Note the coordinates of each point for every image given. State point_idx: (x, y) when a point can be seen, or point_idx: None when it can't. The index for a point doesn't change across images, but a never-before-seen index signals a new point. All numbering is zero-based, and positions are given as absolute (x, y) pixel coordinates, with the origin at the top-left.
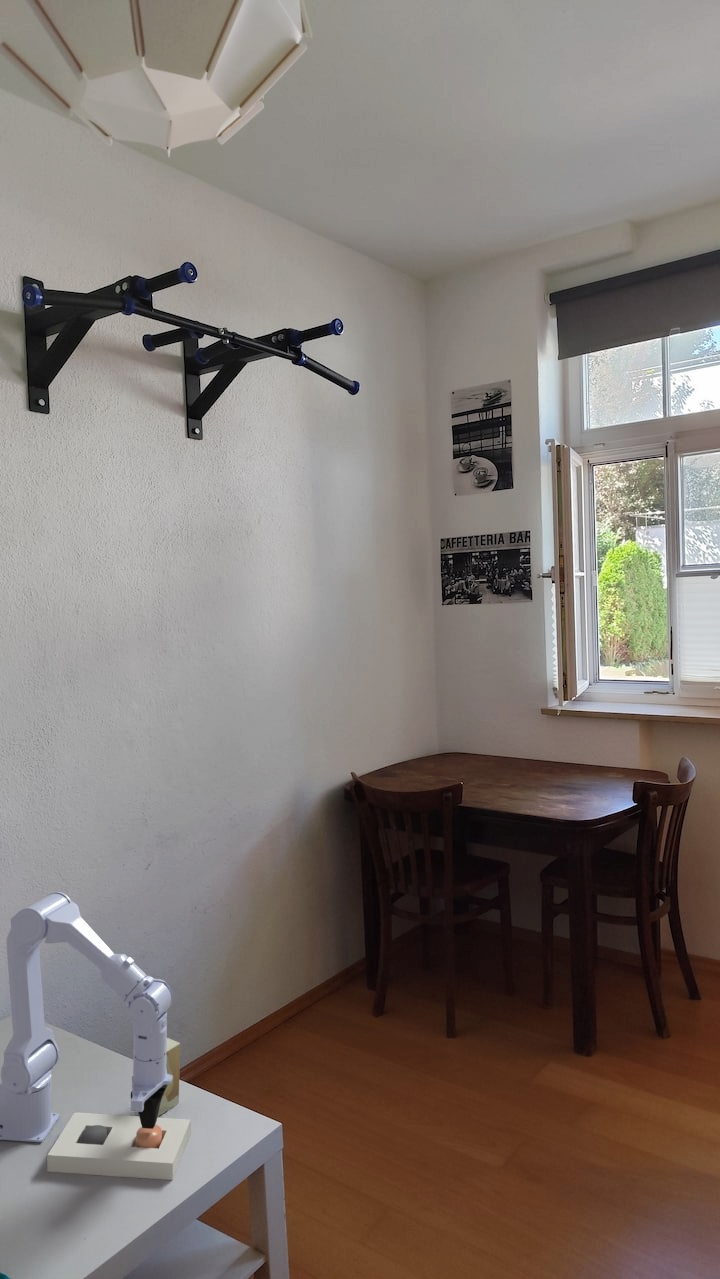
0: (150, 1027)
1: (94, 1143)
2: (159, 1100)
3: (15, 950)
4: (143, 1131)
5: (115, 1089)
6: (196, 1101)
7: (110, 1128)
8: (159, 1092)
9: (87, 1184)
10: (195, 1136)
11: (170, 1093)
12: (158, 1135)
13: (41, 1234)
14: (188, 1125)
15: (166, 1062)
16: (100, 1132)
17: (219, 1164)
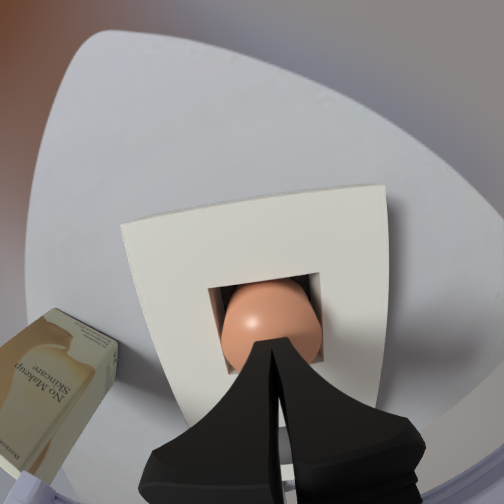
0: None
1: None
2: (408, 424)
3: None
4: None
5: (96, 429)
6: (34, 265)
7: None
8: (331, 481)
9: (389, 376)
10: (144, 198)
11: (54, 341)
12: (283, 301)
13: (480, 360)
14: (152, 217)
15: (19, 477)
16: (283, 443)
17: (255, 70)
